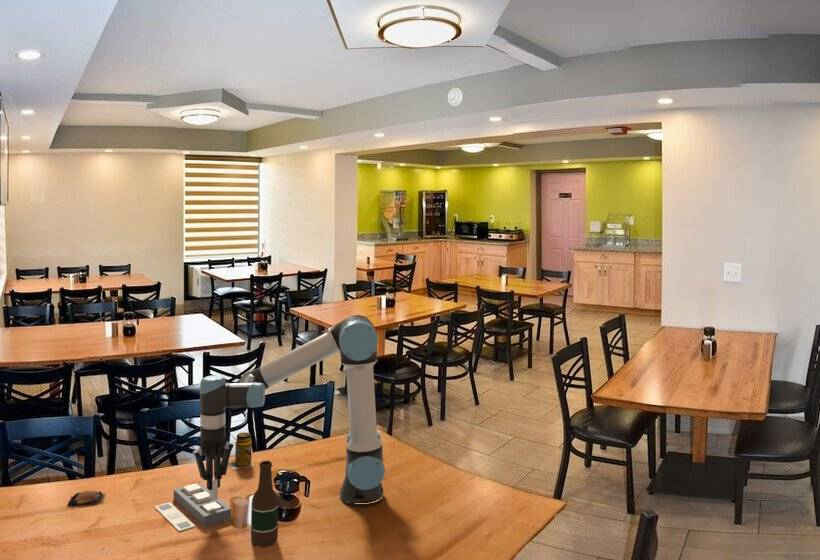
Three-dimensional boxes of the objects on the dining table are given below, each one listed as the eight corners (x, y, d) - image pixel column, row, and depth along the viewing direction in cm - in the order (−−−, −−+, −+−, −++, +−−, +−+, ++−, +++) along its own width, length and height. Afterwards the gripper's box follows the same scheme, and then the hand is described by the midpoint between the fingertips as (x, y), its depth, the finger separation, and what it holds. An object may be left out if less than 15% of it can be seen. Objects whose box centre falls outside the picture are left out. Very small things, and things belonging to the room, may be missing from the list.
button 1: (201, 495, 209) (201, 487, 208) (188, 498, 206) (188, 491, 205) (196, 490, 212) (196, 483, 212) (183, 493, 209) (183, 486, 209)
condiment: (254, 466, 240) (255, 435, 239) (232, 470, 235) (233, 439, 234) (248, 459, 246) (248, 430, 245) (227, 463, 241) (227, 433, 240)
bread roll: (105, 495, 212) (106, 484, 212) (103, 505, 204) (103, 494, 204) (70, 498, 208) (70, 487, 208) (66, 509, 200) (66, 498, 200)
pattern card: (195, 526, 192) (195, 525, 192) (178, 531, 188) (179, 530, 188) (169, 503, 207) (169, 501, 206) (154, 507, 203) (154, 506, 203)
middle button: (211, 503, 203) (211, 495, 203) (198, 506, 200) (198, 499, 200) (205, 498, 206) (205, 491, 206) (192, 501, 203) (192, 494, 203)
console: (231, 519, 198) (231, 508, 197) (204, 527, 192) (204, 516, 191) (199, 492, 215) (199, 482, 215) (173, 499, 209) (173, 489, 209)
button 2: (221, 514, 198) (221, 506, 197) (208, 518, 195) (208, 510, 194) (215, 509, 201) (215, 501, 201) (202, 513, 198) (202, 505, 198)
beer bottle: (252, 534, 189) (254, 457, 187) (279, 534, 190) (280, 457, 187) (248, 547, 181) (250, 467, 179) (275, 547, 182) (277, 467, 180)
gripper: (227, 418, 202) (227, 488, 205) (187, 426, 194) (188, 500, 196) (238, 424, 197) (238, 496, 199) (197, 433, 188) (198, 508, 190)
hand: (213, 498), depth 197 cm, fingers closed
